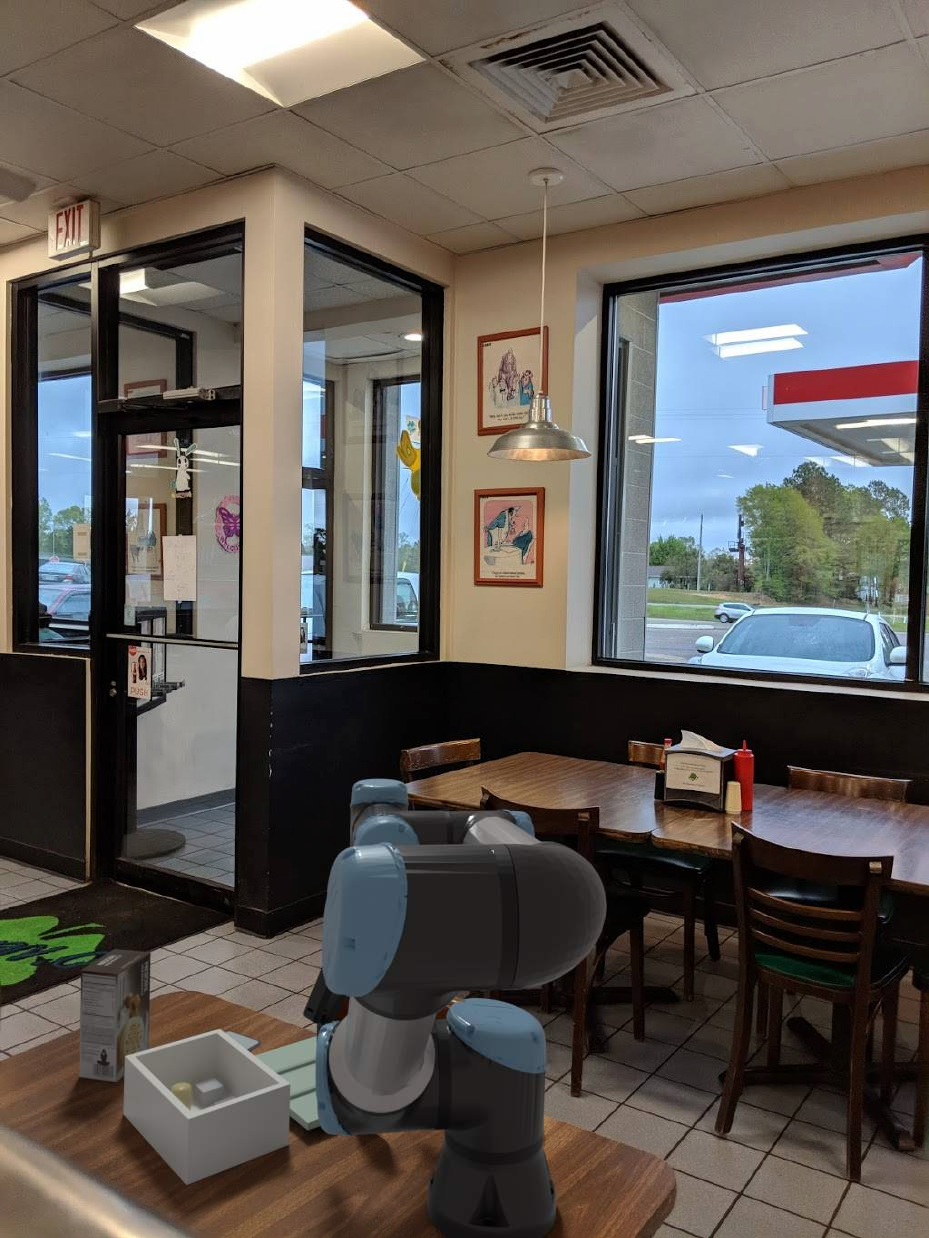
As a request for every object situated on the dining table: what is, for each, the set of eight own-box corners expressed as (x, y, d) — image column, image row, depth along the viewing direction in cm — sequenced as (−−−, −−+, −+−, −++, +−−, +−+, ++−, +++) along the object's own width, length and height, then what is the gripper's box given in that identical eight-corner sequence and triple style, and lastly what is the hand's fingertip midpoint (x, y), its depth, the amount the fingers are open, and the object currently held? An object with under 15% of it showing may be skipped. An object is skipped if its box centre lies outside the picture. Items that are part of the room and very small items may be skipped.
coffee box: (112, 1049, 149) (114, 947, 148) (149, 1054, 147) (152, 951, 147) (77, 1077, 140) (79, 968, 139) (116, 1083, 138) (119, 973, 138)
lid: (424, 1122, 130) (426, 1048, 130) (332, 1161, 121) (335, 1081, 121) (319, 1048, 151) (321, 984, 151) (233, 1076, 141) (235, 1008, 141)
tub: (288, 1144, 124) (290, 1083, 124) (186, 1184, 115) (188, 1119, 115) (218, 1083, 139) (220, 1028, 139) (123, 1114, 130) (124, 1055, 130)
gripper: (432, 876, 138) (428, 1023, 138) (279, 906, 122) (274, 1072, 122) (466, 888, 132) (461, 1041, 132) (310, 921, 116) (305, 1096, 116)
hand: (372, 1056), depth 127 cm, fingers open, 13 cm apart
